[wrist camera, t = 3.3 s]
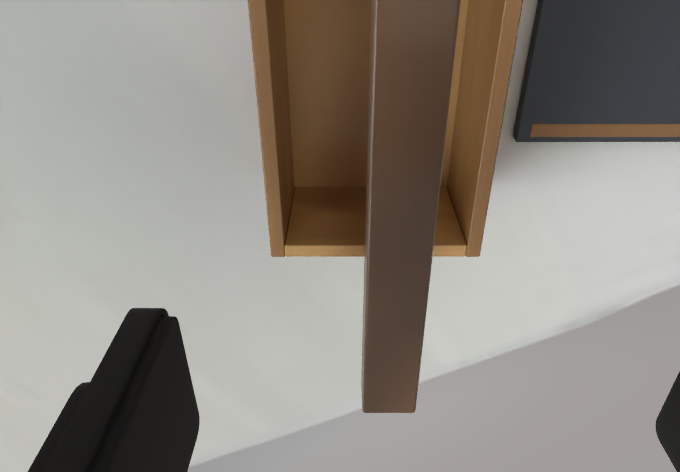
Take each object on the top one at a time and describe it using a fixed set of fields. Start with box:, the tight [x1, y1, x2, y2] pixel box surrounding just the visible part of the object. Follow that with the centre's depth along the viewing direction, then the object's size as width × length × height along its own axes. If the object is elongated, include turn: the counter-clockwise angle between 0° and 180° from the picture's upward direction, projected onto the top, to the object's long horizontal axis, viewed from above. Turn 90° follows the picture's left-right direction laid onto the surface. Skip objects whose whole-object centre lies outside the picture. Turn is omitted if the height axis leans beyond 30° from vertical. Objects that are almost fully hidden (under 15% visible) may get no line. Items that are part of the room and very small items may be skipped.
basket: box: [248, 0, 523, 413], centre depth 19 cm, size 9×12×14 cm
